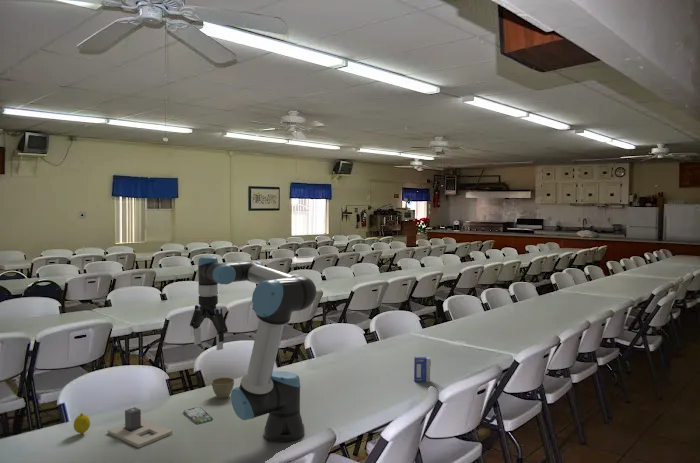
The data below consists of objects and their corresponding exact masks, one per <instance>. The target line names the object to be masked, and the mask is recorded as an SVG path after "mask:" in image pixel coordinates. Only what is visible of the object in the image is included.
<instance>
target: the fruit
mask: <svg viewBox="0 0 700 463" xmlns="http://www.w3.org/2000/svg"><path fill="white" fill-rule="evenodd" d="M90 426H91V419H90V418H89V416H88V415H86V414H84V413H82V412H81V413H80V415H78V416H76V417H75V419H74V422H73V429H74V430H75V432H77V433H78V434H80V435H84V434H85V433H86V432H87V431H88V430H89V428H90Z"/></svg>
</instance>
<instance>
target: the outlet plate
mask: <svg viewBox="0 0 700 463" xmlns="http://www.w3.org/2000/svg"><path fill="white" fill-rule="evenodd" d="M148 433H150V434H152V435H149V436H147V437H143V435H145V434H148ZM107 434H109V435H111V436H113V437H115V438H117V439H119V440H121V441H124V442H125V443H127V444H130V445H131V446H134V447H135V448H143V447H144V446H146V445H149V444H151V443H154V442H156V441H159V440H161V439H164V438H166V437H169V436H170V435H173V430H172V429H169V428H168V427H164V426H162V425H159V424H158V423H154V422H152V421H151V420H148V419H145V418H143V417H141V428H139V429H137V430H134V431H132V432H130V431H128V430H125V423H123V424H120V425H118V426H114V427H112V428H109V429H107Z"/></svg>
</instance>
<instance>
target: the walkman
mask: <svg viewBox="0 0 700 463" xmlns="http://www.w3.org/2000/svg"><path fill="white" fill-rule="evenodd" d="M431 364H432V361H431V357H430V356H414V361H413V369H414V370H413V381H414V383H416V382H417V383H419V382H420V383H430V382H431Z"/></svg>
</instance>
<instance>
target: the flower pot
mask: <svg viewBox="0 0 700 463" xmlns="http://www.w3.org/2000/svg"><path fill="white" fill-rule="evenodd" d="M210 383H211V387H212V388H211V389H212V390H213V393H214V394H215V397H217V398H218V399H227V398H228V397H229V396H231V392H232V390H233V389H234V384H235V379H234V378H231V377H226V376H225V377H218V378H214V379H212V380H211V382H210Z"/></svg>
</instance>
